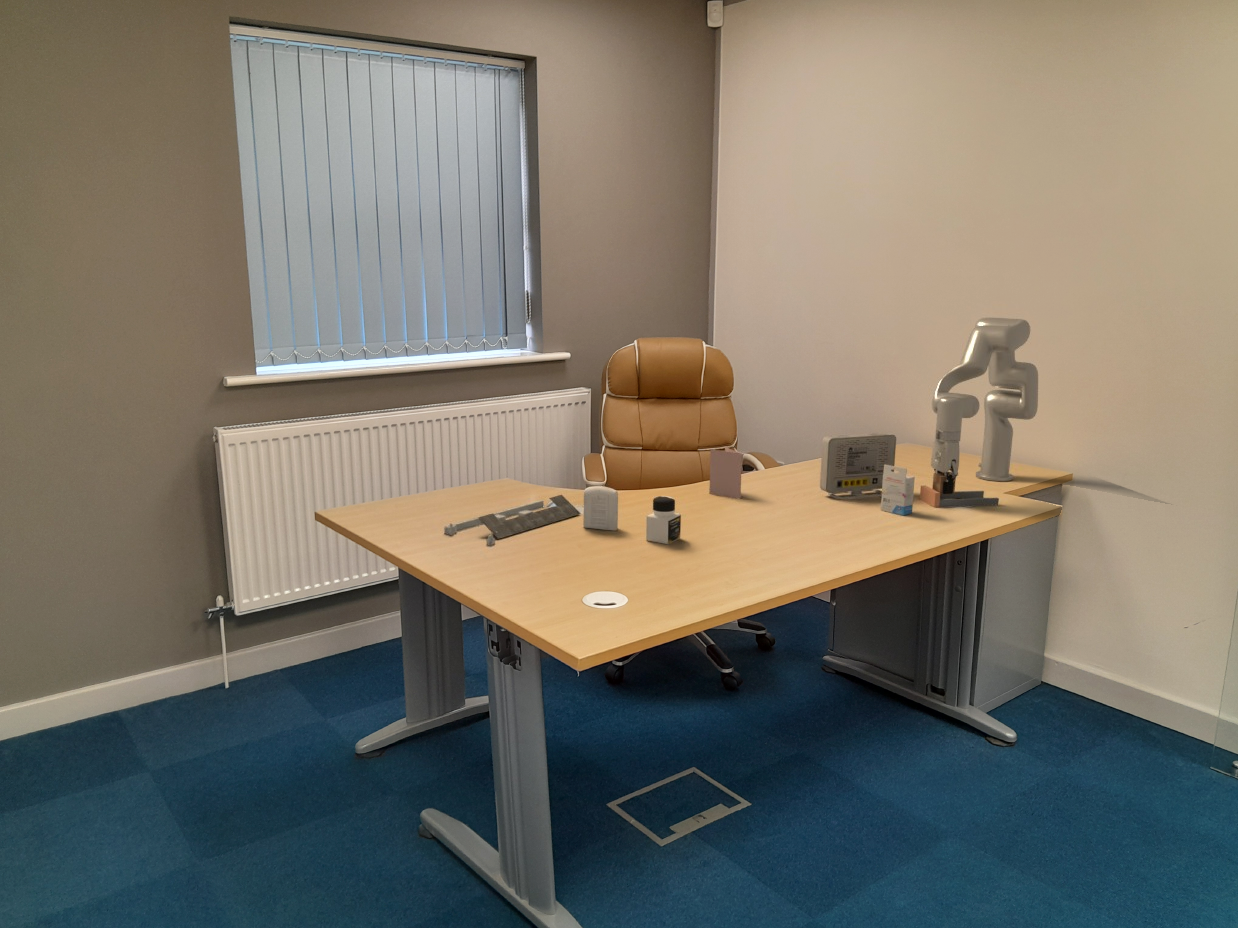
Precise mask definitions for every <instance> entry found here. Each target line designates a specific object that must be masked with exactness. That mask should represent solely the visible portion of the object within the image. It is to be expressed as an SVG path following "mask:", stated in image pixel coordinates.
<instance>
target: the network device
mask: <svg viewBox="0 0 1238 928" xmlns="http://www.w3.org/2000/svg"><path fill="white" fill-rule="evenodd" d="M821 443H822V444H821V460H820V477H819V478H820V480H819V488H820V490H821V491H823V492H826V493H827V495H828V496H829V497H831V498H834V499H837V500H855V499H866V498H868V497H869V498H876V497H877V498H878V497H879V496H880V497H882V484H883V474H884V465H890V466H895V463H896V460H895V459H896V451H897V450H896V448H897V447H896V446H897V437H896V435H895V434H892V433H889V432H877V433H876V432H875V433H861V434H860V433H859V434H857V433H856V434H844V435H843V434H842V435H829V436H828V435H827V436H824V437H823V439H822V442H821ZM891 471H892V472H895V469H894V470H891ZM874 491H875V492H874ZM863 492H874V493H876V494H873V493H872V494H865V493H863ZM836 494H849V495H850V496H839V495H836Z"/></svg>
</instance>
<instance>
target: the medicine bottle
mask: <svg viewBox="0 0 1238 928" xmlns="http://www.w3.org/2000/svg"><path fill="white" fill-rule="evenodd" d="M675 509H676V499H675V498H673V497H671V496H668V495H667V496H666V495H660V496H656V497H654V498H653V499H652V513H650V514H648V515H647V516H646V528H645V529H646V530H645V531H646V533H645V535H646V537H645V539H646V541H648V542H654V543H658V544H659V543H660V544H664V545H670V544H672V543H673V542H676V541H677V540H679V539H680V538H681V527H682V526H681V525H682V524H681V523H682V518H681V517H682V514H681V513H677V512H676V510H675Z"/></svg>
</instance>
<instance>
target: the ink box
mask: <svg viewBox="0 0 1238 928" xmlns="http://www.w3.org/2000/svg"><path fill="white" fill-rule="evenodd" d="M891 470H894V472H892V471H891ZM895 470H896V471H898V472H896V471H895ZM907 471H908V470H907V468H906V467H905V468H904V467H899V466H896V465H894V466H890V465H884V474H883V484H882V489H881V491H882V496H881V502H880V510H881V511H882V512H887V513H891V514H896V515H899V516H906V515H910V514H912V513H913V504H914V492H915V491H914V490H915V477H916V476H912V475H908V474H907Z"/></svg>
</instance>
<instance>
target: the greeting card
mask: <svg viewBox="0 0 1238 928" xmlns="http://www.w3.org/2000/svg"><path fill="white" fill-rule="evenodd" d="M709 455H710V456H709V457H710V458H709V459H710V460H709V461H710V462H709V464H710V465H709V491H708V492H709V493H708V494H709V495H715V496H720V497H725V498H726V497H727V498H734V499H741V495H742V493H741V492H742V467H743V453H741V452H739V451H736V450H733V449H731V448H728V447H726V446H725V447H724V451H723V450H717V449H716V450H715V449H710V454H709Z"/></svg>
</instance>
